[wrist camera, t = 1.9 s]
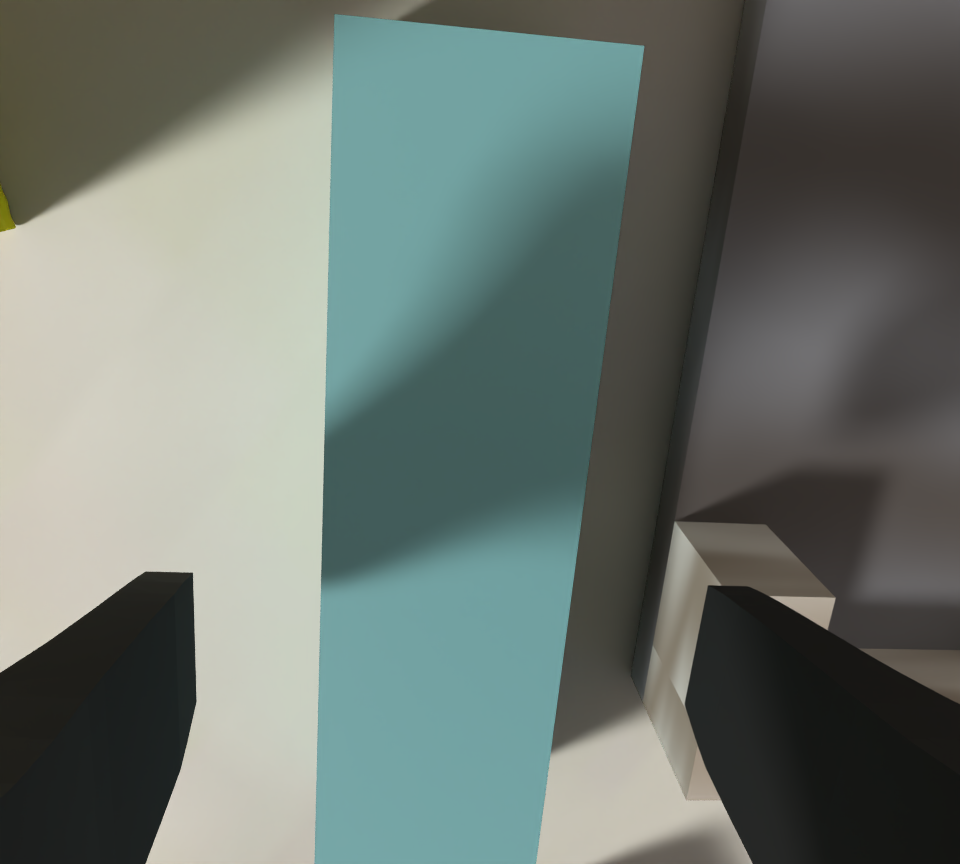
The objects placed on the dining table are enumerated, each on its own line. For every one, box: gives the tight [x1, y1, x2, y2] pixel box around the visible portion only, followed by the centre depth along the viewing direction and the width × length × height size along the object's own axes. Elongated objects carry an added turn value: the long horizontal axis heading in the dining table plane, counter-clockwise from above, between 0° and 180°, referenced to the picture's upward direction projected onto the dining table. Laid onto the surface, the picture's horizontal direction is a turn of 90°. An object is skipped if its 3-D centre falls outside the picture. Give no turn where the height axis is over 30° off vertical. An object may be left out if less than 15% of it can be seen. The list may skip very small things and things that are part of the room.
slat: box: [315, 14, 644, 864], centre depth 16 cm, size 16×4×5 cm, turn 175°
